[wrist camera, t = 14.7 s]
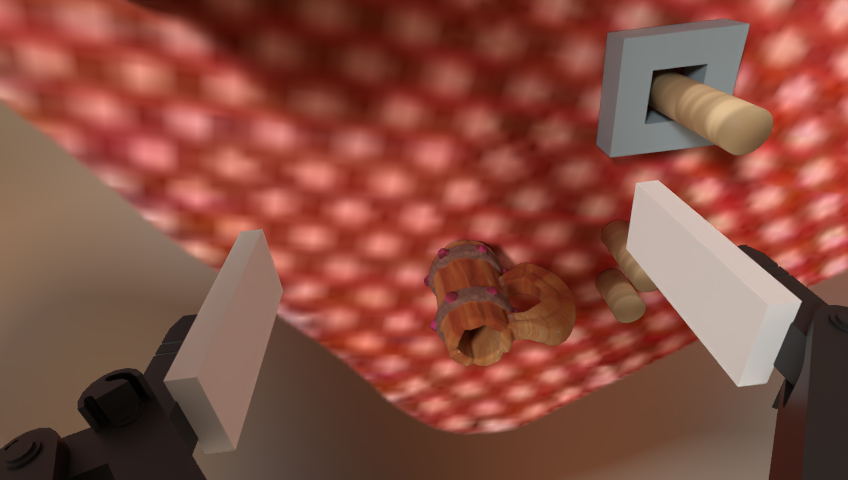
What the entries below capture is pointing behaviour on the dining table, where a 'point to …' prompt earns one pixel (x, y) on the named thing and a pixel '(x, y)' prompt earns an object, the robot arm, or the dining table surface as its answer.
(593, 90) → the dining table surface
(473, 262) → the mug
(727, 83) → the hole block
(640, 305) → the dowel short
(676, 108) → the dowel long
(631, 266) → the dowel medium
